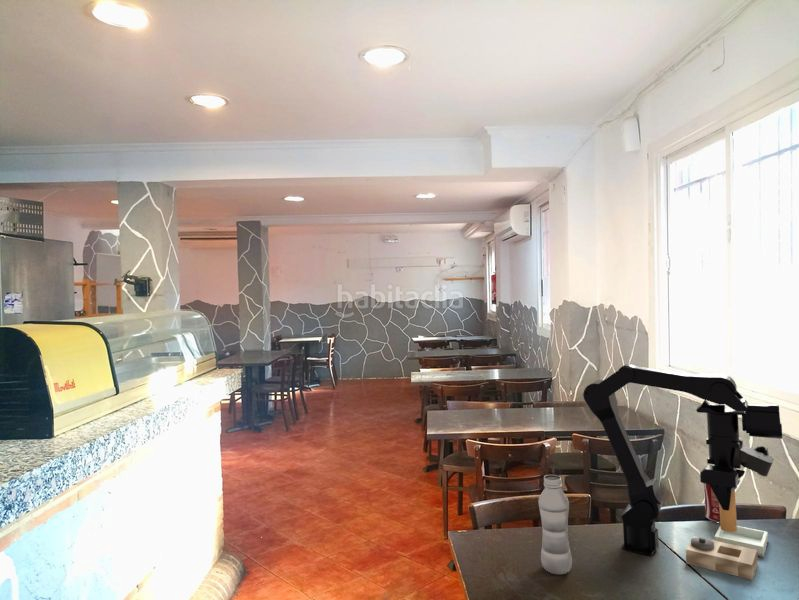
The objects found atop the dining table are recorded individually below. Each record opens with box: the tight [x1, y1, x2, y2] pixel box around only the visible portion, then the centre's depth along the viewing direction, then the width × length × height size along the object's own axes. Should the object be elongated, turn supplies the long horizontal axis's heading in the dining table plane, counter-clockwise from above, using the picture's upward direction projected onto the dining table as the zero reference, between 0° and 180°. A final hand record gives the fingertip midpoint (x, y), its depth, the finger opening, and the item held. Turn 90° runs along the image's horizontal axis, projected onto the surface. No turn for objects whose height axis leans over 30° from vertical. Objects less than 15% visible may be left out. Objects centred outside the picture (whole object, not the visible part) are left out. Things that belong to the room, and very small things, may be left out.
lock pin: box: [719, 486, 738, 532], centre depth 112 cm, size 4×4×10 cm
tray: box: [714, 525, 769, 557], centre depth 121 cm, size 9×9×2 cm
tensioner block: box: [685, 535, 759, 581], centre depth 113 cm, size 12×8×4 cm, turn 50°
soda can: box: [703, 483, 720, 524], centre depth 134 cm, size 7×7×12 cm
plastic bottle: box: [537, 474, 573, 576], centre depth 113 cm, size 6×7×20 cm
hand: (727, 507), depth 112 cm, fingers closed on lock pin, 3 cm apart
